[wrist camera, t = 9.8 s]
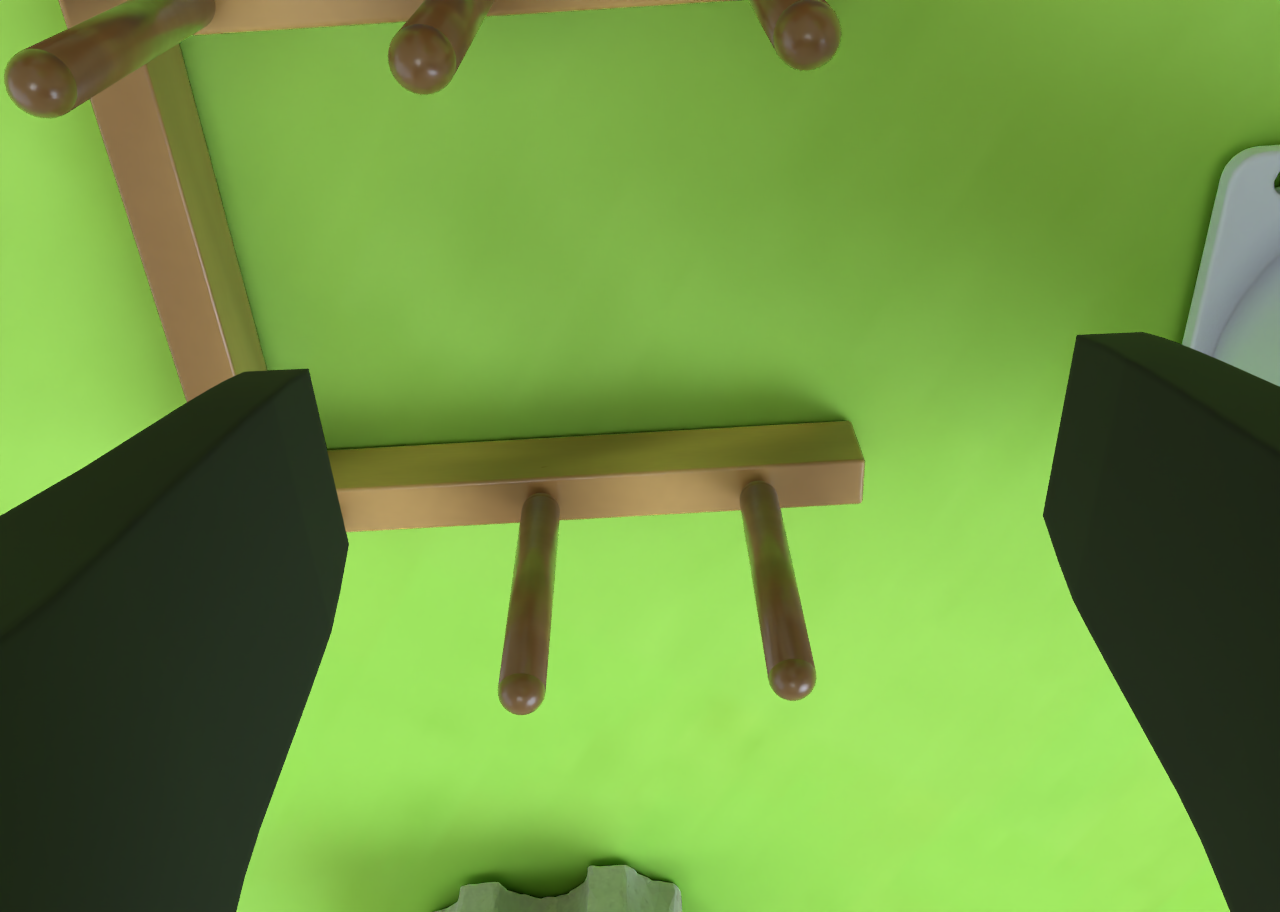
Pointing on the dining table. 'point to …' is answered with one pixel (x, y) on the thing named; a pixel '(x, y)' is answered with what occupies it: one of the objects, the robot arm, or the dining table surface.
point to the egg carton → (578, 895)
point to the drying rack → (437, 473)
